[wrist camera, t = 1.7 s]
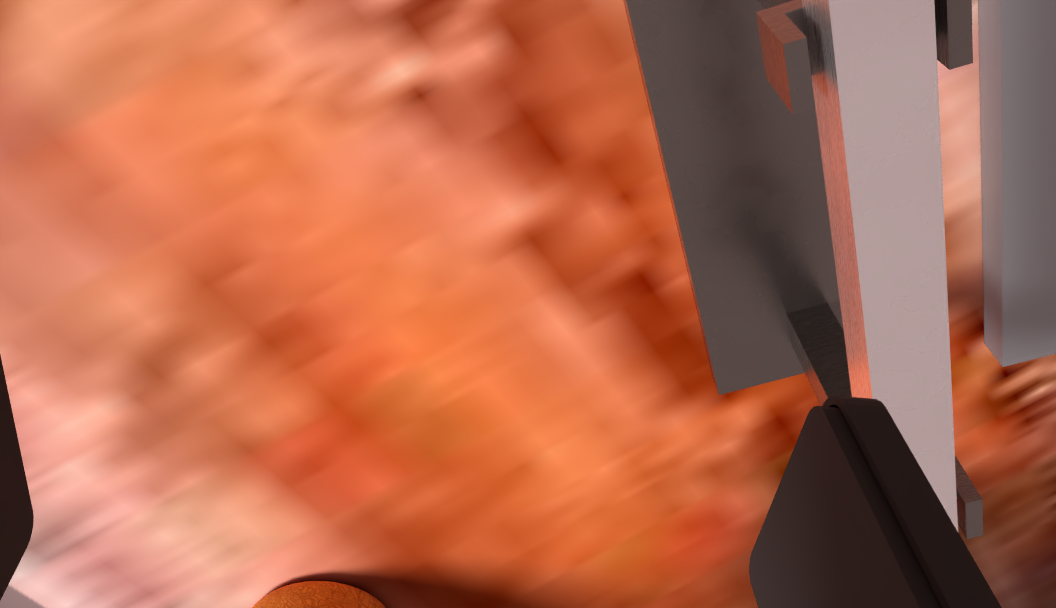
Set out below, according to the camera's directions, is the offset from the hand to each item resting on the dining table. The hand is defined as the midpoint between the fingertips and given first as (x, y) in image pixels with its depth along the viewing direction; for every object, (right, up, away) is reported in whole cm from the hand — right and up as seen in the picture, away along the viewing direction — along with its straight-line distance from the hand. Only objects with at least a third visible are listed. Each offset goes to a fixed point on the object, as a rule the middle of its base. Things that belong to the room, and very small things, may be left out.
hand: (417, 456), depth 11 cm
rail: (+13, +2, +20) cm, 24 cm away
